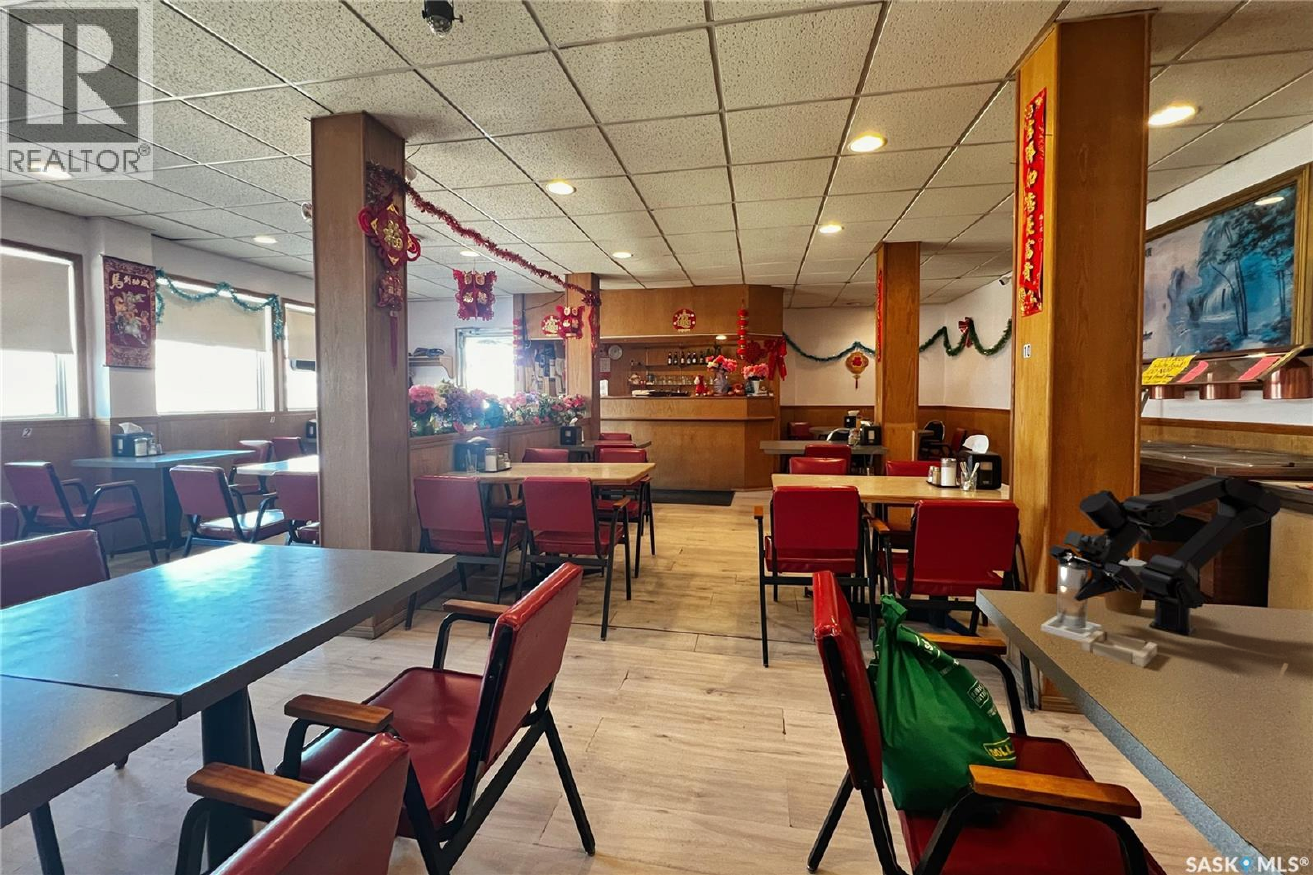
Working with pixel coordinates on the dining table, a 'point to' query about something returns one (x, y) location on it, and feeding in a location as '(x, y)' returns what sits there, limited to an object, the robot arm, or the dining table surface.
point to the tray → (1069, 630)
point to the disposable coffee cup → (1126, 593)
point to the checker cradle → (1120, 648)
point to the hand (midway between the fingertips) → (1066, 595)
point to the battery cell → (1071, 595)
